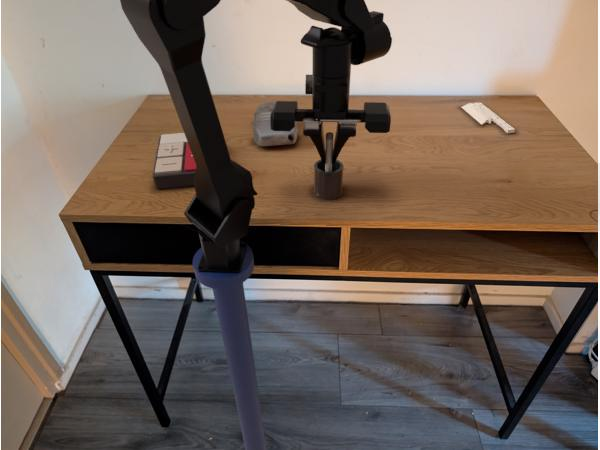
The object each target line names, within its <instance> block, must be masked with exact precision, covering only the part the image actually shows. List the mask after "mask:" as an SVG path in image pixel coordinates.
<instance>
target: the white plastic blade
mask: <svg viewBox="0 0 600 450" xmlns="http://www.w3.org/2000/svg"><path fill="white" fill-rule="evenodd" d="M461 109H463V111H464V112H465V113H467V114H468V115H469V116H470V117H471V118H473V119H474V120H475V121H477V123H479V124H480V125H481V126H484V125H485V124H487V123H488V124H492V122H493V123H494V124H496V125H497V126H498V127H500V128H501V129H502V130H503V131H504V132H505V133H506V134H513V133H515V131H516V128H514V127H513V126H512V125H510V124H509V123H507V122H506V121H505V120H504V119H503V118H501V117H500V116H499V115H498V114H496V113H495V112H494V111H492V110H491V108H489V107H487V106H486V105H484V104H483V103H482V102H476V101H475V102H469V103H466V104H464V105H463V106H461Z"/></svg>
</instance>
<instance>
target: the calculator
mask: <svg viewBox="0 0 600 450" xmlns="http://www.w3.org/2000/svg"><path fill="white" fill-rule="evenodd" d="M195 172H196V163H195V160H194V158H193V155H192V152H191V150H190V147H189V144H188V142H187V139H186V136H185V133H184V132H177V133H166V134H165V133H164V134H161V135H159V137H158V142H157V149H156V154H155V160H154V165H153V171H152V179H153V184H154V186H155V189H156V190H165V189H175V188H176V189H177V188H186V187H195V185H194V176H195Z"/></svg>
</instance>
